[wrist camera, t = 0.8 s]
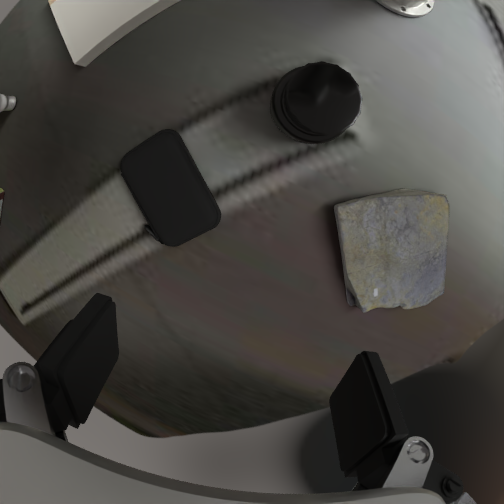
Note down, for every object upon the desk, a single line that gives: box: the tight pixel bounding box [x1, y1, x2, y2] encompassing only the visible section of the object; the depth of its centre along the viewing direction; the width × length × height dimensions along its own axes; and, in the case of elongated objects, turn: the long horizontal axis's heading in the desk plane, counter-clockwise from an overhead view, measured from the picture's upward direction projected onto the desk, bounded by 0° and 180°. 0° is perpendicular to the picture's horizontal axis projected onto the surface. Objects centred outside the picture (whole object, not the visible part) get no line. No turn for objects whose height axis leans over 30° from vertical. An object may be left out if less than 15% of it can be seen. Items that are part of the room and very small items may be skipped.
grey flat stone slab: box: [334, 189, 449, 312], centre depth 38 cm, size 20×5×17 cm
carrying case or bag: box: [121, 129, 221, 247], centre depth 36 cm, size 11×3×15 cm
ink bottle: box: [270, 62, 362, 144], centre depth 27 cm, size 10×9×12 cm
